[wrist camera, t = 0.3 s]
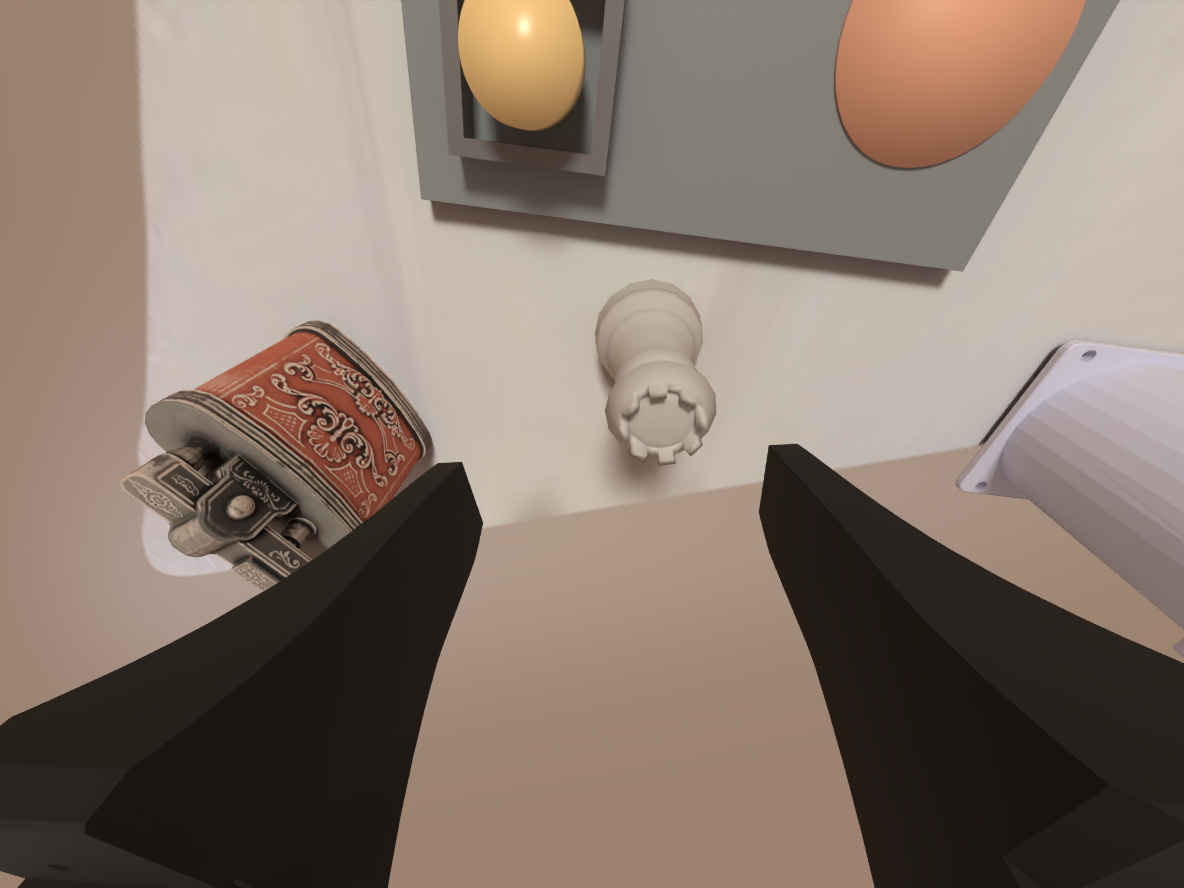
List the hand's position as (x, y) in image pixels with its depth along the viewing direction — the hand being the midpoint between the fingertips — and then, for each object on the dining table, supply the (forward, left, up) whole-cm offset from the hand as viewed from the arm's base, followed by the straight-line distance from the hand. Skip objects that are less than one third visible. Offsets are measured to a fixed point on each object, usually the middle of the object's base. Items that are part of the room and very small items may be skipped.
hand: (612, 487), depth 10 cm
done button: (+4, -8, -8) cm, 12 cm away
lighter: (+12, +5, -10) cm, 16 cm away
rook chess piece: (-1, 0, -10) cm, 10 cm away
